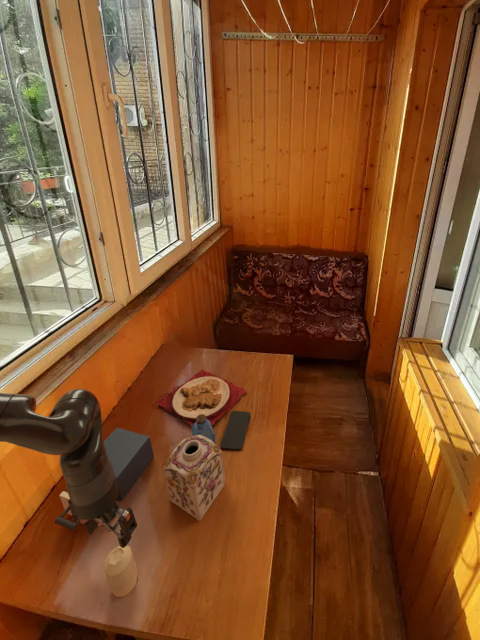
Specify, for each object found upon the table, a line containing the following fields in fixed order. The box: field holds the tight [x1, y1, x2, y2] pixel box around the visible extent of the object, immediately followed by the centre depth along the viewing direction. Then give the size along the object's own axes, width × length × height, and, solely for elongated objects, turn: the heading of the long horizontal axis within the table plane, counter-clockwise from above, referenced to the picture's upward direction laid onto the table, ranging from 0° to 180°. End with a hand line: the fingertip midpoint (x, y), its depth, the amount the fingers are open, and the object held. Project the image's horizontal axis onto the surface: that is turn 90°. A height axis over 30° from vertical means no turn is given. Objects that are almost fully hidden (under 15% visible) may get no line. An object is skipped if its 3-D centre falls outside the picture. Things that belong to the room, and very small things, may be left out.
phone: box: [220, 410, 251, 451], centre depth 110 cm, size 7×1×15 cm
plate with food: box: [156, 368, 247, 427], centre depth 123 cm, size 24×26×3 cm
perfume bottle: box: [191, 414, 217, 445], centre depth 103 cm, size 6×6×12 cm
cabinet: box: [103, 427, 155, 502], centre depth 95 cm, size 14×13×9 cm
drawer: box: [54, 490, 119, 532], centre depth 86 cm, size 17×11×7 cm
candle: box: [103, 544, 139, 598], centre depth 70 cm, size 6×6×10 cm
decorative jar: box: [162, 435, 226, 522], centre depth 87 cm, size 12×12×18 cm
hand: (109, 535), depth 66 cm, fingers open, 8 cm apart
